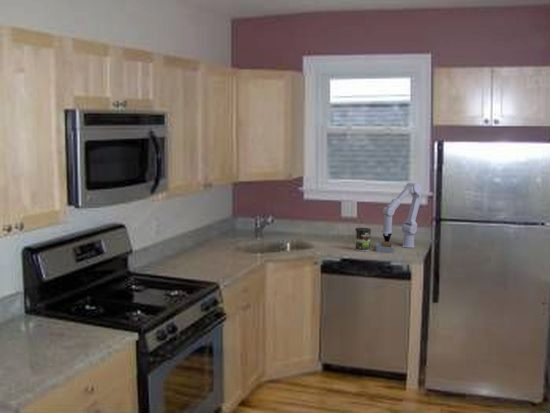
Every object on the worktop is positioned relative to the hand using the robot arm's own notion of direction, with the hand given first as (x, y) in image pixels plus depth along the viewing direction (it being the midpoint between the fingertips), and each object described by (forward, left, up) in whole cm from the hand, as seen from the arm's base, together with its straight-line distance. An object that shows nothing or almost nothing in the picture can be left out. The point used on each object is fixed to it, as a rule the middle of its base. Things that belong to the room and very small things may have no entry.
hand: (386, 244), depth 421 cm
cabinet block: (+9, 0, -3) cm, 9 cm away
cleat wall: (+4, -1, -3) cm, 5 cm away
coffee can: (+10, -15, -3) cm, 18 cm away
